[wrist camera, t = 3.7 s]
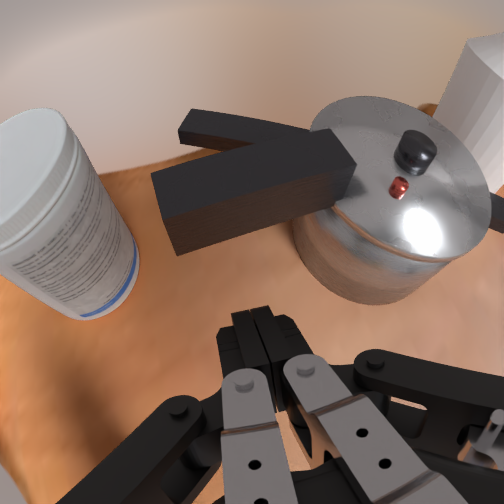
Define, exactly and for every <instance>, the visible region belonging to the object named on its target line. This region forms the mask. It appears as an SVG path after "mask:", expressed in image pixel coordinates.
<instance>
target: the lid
mask: <svg viewBox="0 0 504 504" xmlns="http://www.w3.org/2000/svg"><path fill="white" fill-rule="evenodd" d="M151 177H152V181H153V185H154V189H155V193H156V197H157V201H158V205H159V208H160V212H161V216H162V220H163V222H164V225H165V228H166V230H167V233H168V235H169V238H170V240H171V243H172V245H173V248H174V250H175V253H176V255H177V256H179V255H183V254H186V253H189V252H192V251H195V250H198V249H201V248H204V247H207V246H210V245H213V244H216V243H219V242H222V241H225V240H228V239H231V238H235V237H238V236H241V235H244V234H247V233H250V232H253V231H256V230H260V229H263V228H266V227H269V226H272V225H275V224H278V223H282V222H285V221H288V220H291V219H294V218H298V217H301V216H304V215H307V214H310V213H314V212H317V211H320V210H323V209H327V208H330V207H331V208H332V209H333V210H334V212H335V213H336V214H337V215H338V216H339V217H340V218H341V219H342V220H343V221H344V222H345V223H346V224H347V225H348V226H349V227H351V228H352V229H353V230H354V231H356V232H357V233H358V234H360V235H361V236H362V237H364V238H365V239H367V240H368V241H370V242H371V243H373V244H375V245H376V246H378V247H380V248H382V249H384V250H386V251H388V252H390V253H392V254H395V255H398V256H400V257H403V258H406V259H410V260H414V261H418V262H427V263H441V262H448V261H452V260H455V259H458V258H460V257H462V256H464V255H465V254H467V253H468V252H469V251H471V250H472V249H473V248H474V247H475V246H477V245H478V244H479V242H480V241H481V240H482V239H483V238H484V236H485V234H486V232H487V230H488V227H489V224H490V220H491V197H490V192H489V189H488V185H487V182H486V180H485V177H484V175H483V173H482V171H481V169H480V167H479V165H478V163H477V162H476V160H475V159H474V157H473V156H472V154H471V153H470V152H469V150H468V149H467V148H466V147H465V145H464V144H463V143H462V142H461V141H460V140H459V139H458V138H457V137H456V136H455V135H454V134H453V133H452V132H451V131H450V130H448V129H447V128H446V127H445V126H444V125H442V124H441V123H439V122H438V121H437V120H435V119H434V118H432V117H430V116H429V115H427V114H426V113H424V112H422V111H420V110H418V109H416V108H413V107H411V106H409V105H406V104H404V103H400V102H397V101H394V100H390V99H386V98H380V97H372V96H356V97H349V98H345V99H342V100H338V101H336V102H334V103H331V104H329V105H328V106H327V107H325V108H324V109H322V110H321V111H320V113H318V115H317V116H316V118H315V119H314V121H313V123H312V125H311V128H310V131H309V132H306V133H301V134H297V135H292V136H287V137H282V138H278V139H273V140H269V141H265V142H260V143H256V144H252V145H248V146H244V147H240V148H236V149H232V150H228V151H224V152H221V153H217V154H213V155H209V156H206V157H202V158H199V159H195V160H192V161H188V162H185V163H182V164H178V165H175V166H172V167H169V168H165V169H162V170H159V171H156V172H153V173H151Z"/></svg>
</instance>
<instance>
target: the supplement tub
mask: <svg viewBox="0 0 504 504" xmlns="http://www.w3.org/2000/svg"><path fill="white" fill-rule="evenodd" d="M138 271H139V251H138V247H137V244H136V242H135V239H134V237H133V236H132V234H131V232H130V231H129V229H128V227H127V226H126V224H125V222H124V221H123V219H122V217H121V215H120V214H119V212H118V210H117V209H116V207H115V205H114V203H113V202H112V200H111V198H110V196H109V195H108V193H107V191H106V189H105V187H104V186H103V184H102V182H101V180H100V178H99V177H98V175H97V173H96V171H95V169H94V167H93V166H92V164H91V162H90V160H89V158H88V156H87V154H86V152H85V150H84V149H83V147H82V145H81V143H80V141H79V139H78V138H77V136H76V135H75V134H74V132H73V130H72V129H71V128H70V127H69V125H68V124H67V122H66V120H65V118H64V117H63V116H62V115H61V113H60V112H58V111H56V110H54V109H50V108H36V109H31V110H27V111H25V112H22V113H19V114H17V115H15V116H13V117H11V118H9V119H8V120H6V121H5V122H3V123H1V124H0V274H1V275H2V276H4V277H5V278H6V279H8V280H9V281H11V282H12V283H14V284H15V285H17V286H18V287H20V288H21V289H23V290H24V291H26V292H27V293H29V294H30V295H32V296H33V297H35V298H37V299H38V300H40V301H41V302H43V303H45V304H46V305H48V306H50V307H51V308H53V309H55V310H56V311H58V312H60V313H62V314H64V315H65V316H67V317H70V318H72V319H76V320H92V319H96V318H99V317H102V316H104V315H107V314H108V313H110V312H112V311H113V310H115V309H116V308H117V307H119V306H120V305H121V304H122V303H123V302H124V300H125V299H126V298H127V297H128V295H129V294H130V292H131V290H132V289H133V287H134V284H135V282H136V279H137V276H138Z"/></svg>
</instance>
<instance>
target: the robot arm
mask: <svg viewBox="0 0 504 504" xmlns="http://www.w3.org/2000/svg"><path fill="white" fill-rule="evenodd" d="M231 317H232V322H233V326H228V327H223V328H220V330H219V332H218V334H217V336H216V338H217V344H218V350H219V356H220V362H221V367H222V373H223V381H222V387H221V388H220V389H219V391H218V392H216V393H215V394H214V395H212V396H211V397H209V398H206V399H204V400H202V401H200V402H199V401H198V400H197V399H196V398H194V397H192V396H187V395H180V396H175V397H172V398H169V399H167V400H166V401H164V402H163V403H162V404H161V405H160V406H159V407H158V408H157V409H156V410H155V411H154V412H153V413H152V414H151V415H150V416H149V417H148V418H147V419H145V420H144V421H143V422H142V423H141V424H140V425H139V426H138V427H137V428H136V429H135V430H134V431H133V432H132V433H131V434H130V435H129V436H128V437H127V438H126V439H125V440H124V441H123V442H122V443H121V444H120V445H119V446H118V447H117V448H116V449H114V450H113V451H112V452H111V453H110V454H109V455H108V456H107V457H106V458H105V459H104V460H103V461H102V462H101V463H100V464H99V465H97V466H96V467H95V468H94V469H93V470H92V471H91V472H90V473H89V474H88V475H87V476H86V477H85V478H83V479H82V480H81V481H80V482H79V483H78V484H77V485H76V486H75V487H74V488H72V489H71V490H70V491H69V492H68V493H67V494H66V495H65V496H64V497H62V498H61V499H60V500H59V501H58V502H57V503H56V504H192V502H193V501H194V500H195V499H196V497H197V496H198V495H199V494H200V492H201V491H202V490H203V488H204V487H205V486H206V485H207V483H208V482H209V481H210V479H211V478H212V477H213V475H214V474H215V473H216V471H217V470H218V469H219V467H220V465H221V462H222V466H223V480H224V493H225V495H224V496H222V497H221V498H219V499H218V500H216V501H215V502H213V503H212V504H504V377H502V376H497V375H492V374H487V373H482V372H477V371H472V370H467V369H462V368H458V367H453V366H448V365H444V364H439V363H435V362H431V361H426V360H422V359H418V358H414V357H409V356H405V355H401V354H397V353H393V352H389V351H385V350H381V349H371V350H366V351H364V352H362V353H360V354H359V355H357V357H356V358H355V360H354V364H349V365H330V364H328V363H327V362H326V361H325V360H324V359H323V358H322V357H320V356H317V355H314V354H313V352H312V350H311V349H310V347H309V345H308V344H307V342H306V340H305V339H304V337H303V335H302V334H301V332H300V330H299V329H298V328H297V325H296V324H295V322H294V321H293V319H291V318H290V317H288V316H286V315H284V314H283V315H278V316H274V315H273V313H272V311H271V309H270V307H269V306H268V305H267V306H262V307H258V308H253V309H250V311H249V310H244V311H239V312H235V313H231ZM391 396H392V397H396V398H399V399H403V400H406V401H410V402H414V403H417V404H421V405H423V406H424V407H426V409H427V410H422V409H418V408H414V407H411V406H407V405H403V404H400V403H396V402H393V401H391ZM276 406H277V409H278V411H279V412H281V411H285V410H286V411H287V414H288V416H289V424H290V428H291V430H292V432H293V434H294V436H295V438H296V440H297V442H298V444H299V446H300V448H301V450H302V452H303V454H304V455H305V457H306V459H307V461H308V463H309V465H310V468H311V470H306V471H293V472H290V469H289V465H288V461H287V457H286V453H285V449H284V445H283V441H282V436H281V432H280V428H279V425H278V422H277V421H276V417H275V413H277V410H276Z"/></svg>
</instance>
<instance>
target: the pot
mask: <svg viewBox="0 0 504 504" xmlns="http://www.w3.org/2000/svg"><path fill="white" fill-rule="evenodd" d="M309 131H310V130H307V129H302V128H298V127H294V126H289V125H284V124H280V123H275V122H270V121H265V120H260V119H255V118H249V117H243V116H238V115H231V114H226V113H219V112H213V111H205V110H198V109H191V110H190V112H189V113H188V115H187V116H186V118H185V119H184V121H183V122H182V124H181V126H180V127H179V129H178V134H179V139H180V144H185V145H191V146H197V147H203V148H208V149H214V150H219V151H228V150H232V149H236V148H240V147H244V146H248V145H252V144H256V143H260V142H265V141H269V140H273V139H278V138H282V137H287V136H292V135H297V134H301V133H306V132H309ZM490 197H491V220H490V224H489V227H488V228H490V229H493V230H495V231H498V232H500V233H502V234H503V233H504V198H502V197H500V196H498V195H496V194H494V193H491V192H490ZM293 236H294V241H295V244H296V248H297V250H298V253H299V255H300V257H301V259H302V261H303V262H304V264H305V266H306V267H307V269H308V270H309V271H310V272H311V274H312V275H313V276H314V277H315V278H316V279H317V280H318V281H319V282H320V283H321V284H322V285H324V286H325V287H326V288H327V289H329V290H330V291H332V292H333V293H335V294H337V295H338V296H340V297H343V298H345V299H347V300H350V301H353V302H356V303H360V304H366V305H385V304H390V303H394V302H397V301H399V300H401V299H403V298H405V297H407V296H408V295H410V294H411V293H413V292H414V291H415V290H416V289H418V288H419V287H420V286H422V285H423V284H424V283H425V282H427V281H428V280H429V279H431V278H432V277H433V276H434V275H435V274H437V273H438V272H439V271H440V270H442V269H443V268H444V267H445V266H446V265H448V264H449V263H450V262H451V261H448V262H441V263H427V262H418V261H414V260H410V259H406V258H403V257H400V256H398V255H395V254H392V253H390V252H388V251H386V250H384V249H382V248H380V247H378V246H376V245H375V244H373V243H371V242H370V241H368V240H367V239H365V238H364V237H362V236H361V235H360V234H358V233H357V232H356V231H354V230H353V229H352V228H351V227H349V226H348V225H347V224H346V223H345V222H344V221H343V220H342V219H341V218H340V217H339V216H338V215H337V214H336V213H335V212H334V210H333V209H332V208H331V207H330V208H327V209H323V210H320V211H317V212H314V213H310V214H307V215H304V216H301V217H298V218H294V219H293Z"/></svg>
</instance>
